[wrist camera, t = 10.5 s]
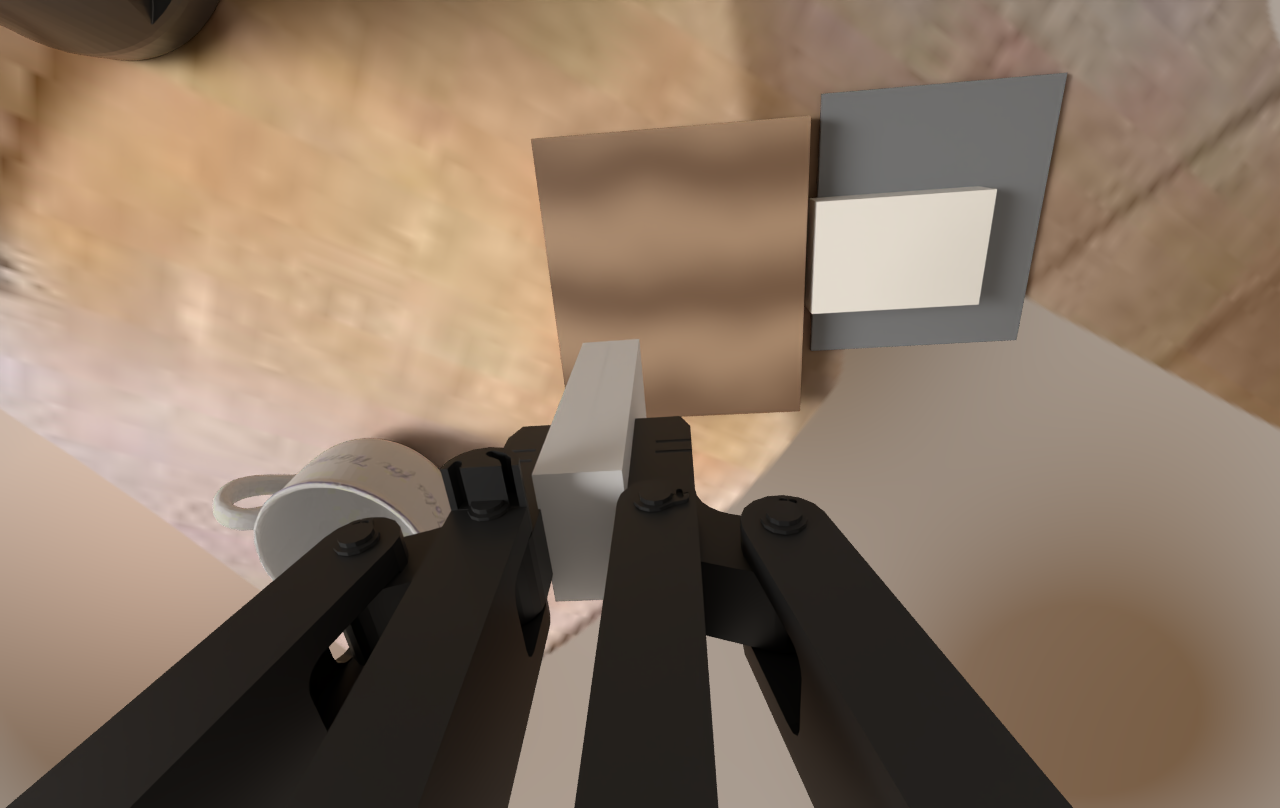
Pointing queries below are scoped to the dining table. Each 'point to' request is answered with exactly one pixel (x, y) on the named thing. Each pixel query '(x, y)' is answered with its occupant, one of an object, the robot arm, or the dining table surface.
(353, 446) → the teacup
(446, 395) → the dining table surface
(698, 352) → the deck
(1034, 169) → the mat
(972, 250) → the white rectangular block
